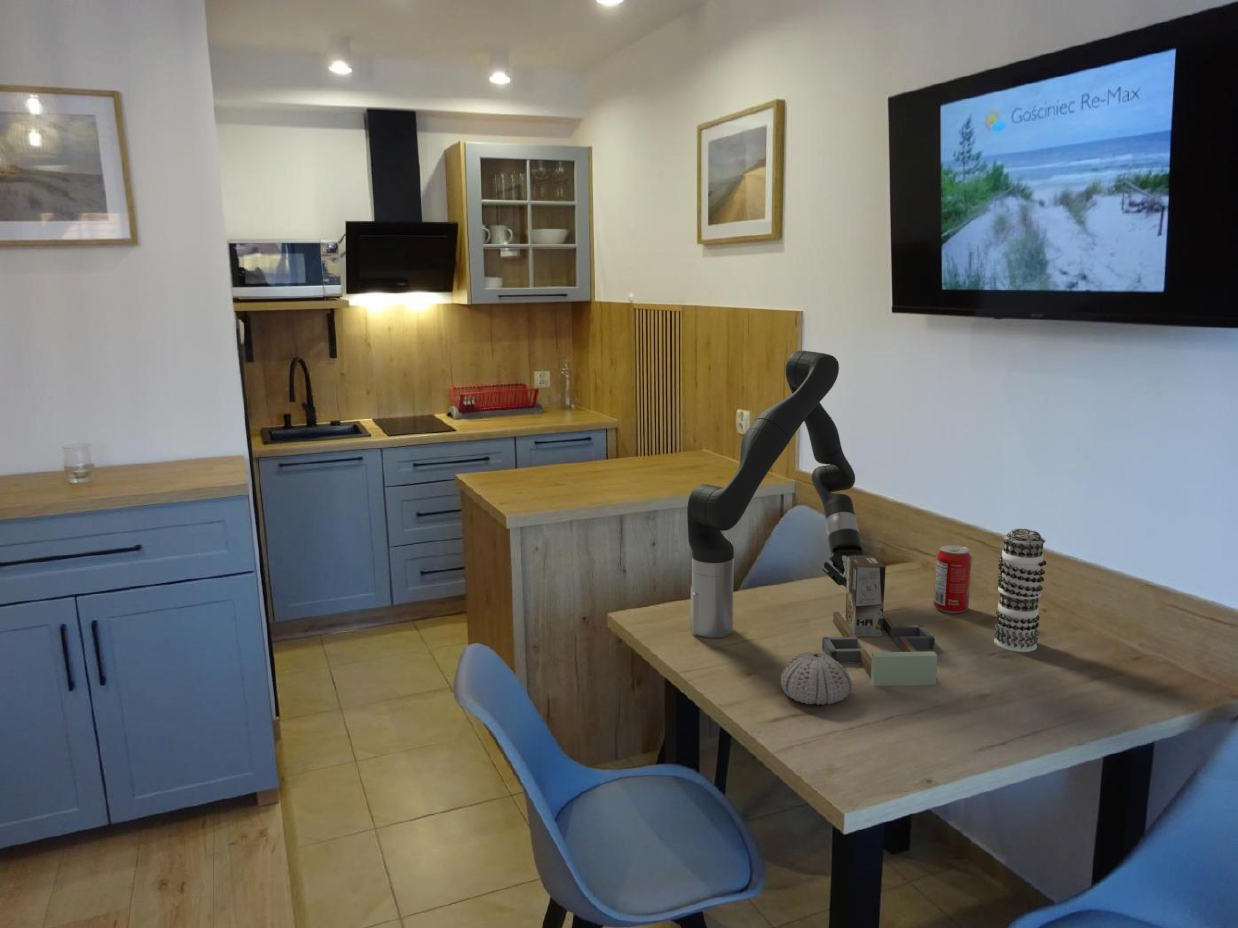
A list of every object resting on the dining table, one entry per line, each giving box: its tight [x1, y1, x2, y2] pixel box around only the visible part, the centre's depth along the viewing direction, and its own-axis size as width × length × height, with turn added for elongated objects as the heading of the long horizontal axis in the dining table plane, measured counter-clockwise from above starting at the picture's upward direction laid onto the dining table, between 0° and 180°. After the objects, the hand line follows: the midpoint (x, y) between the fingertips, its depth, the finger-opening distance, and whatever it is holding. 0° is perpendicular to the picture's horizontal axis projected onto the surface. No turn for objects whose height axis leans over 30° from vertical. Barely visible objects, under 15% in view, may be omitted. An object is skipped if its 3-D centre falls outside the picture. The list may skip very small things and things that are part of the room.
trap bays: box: [821, 624, 935, 664], centre depth 187 cm, size 23×13×2 cm, turn 90°
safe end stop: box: [870, 651, 938, 687], centre depth 171 cm, size 12×2×6 cm, turn 90°
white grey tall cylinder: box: [993, 528, 1047, 653], centre depth 187 cm, size 9×9×25 cm
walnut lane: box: [832, 611, 918, 679], centre depth 187 cm, size 11×32×2 cm, turn 1°
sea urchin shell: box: [780, 651, 854, 706], centre depth 167 cm, size 13×14×8 cm
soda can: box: [932, 544, 973, 615], centre depth 208 cm, size 8×8×15 cm
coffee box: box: [844, 554, 887, 638], centre depth 197 cm, size 9×6×16 cm
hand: (855, 600), depth 205 cm, fingers closed
